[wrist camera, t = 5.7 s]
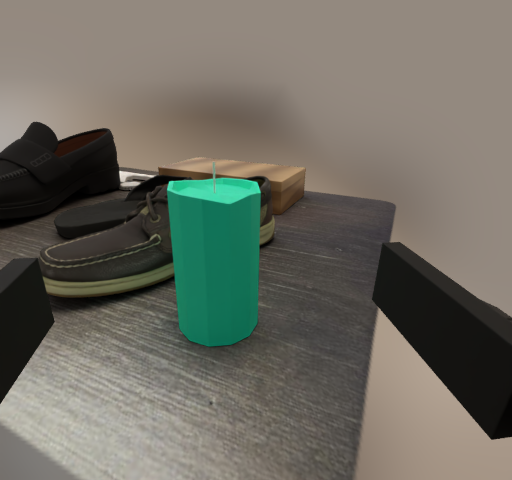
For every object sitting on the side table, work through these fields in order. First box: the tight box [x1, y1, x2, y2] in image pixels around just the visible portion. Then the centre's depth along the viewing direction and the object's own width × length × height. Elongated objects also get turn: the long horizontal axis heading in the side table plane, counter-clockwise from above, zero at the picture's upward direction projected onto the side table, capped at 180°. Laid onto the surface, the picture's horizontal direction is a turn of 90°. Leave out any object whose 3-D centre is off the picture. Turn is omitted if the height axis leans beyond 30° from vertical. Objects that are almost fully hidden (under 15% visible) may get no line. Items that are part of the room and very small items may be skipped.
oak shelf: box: [158, 157, 306, 215], centre depth 57 cm, size 22×12×5 cm, turn 66°
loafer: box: [0, 122, 121, 220], centre depth 49 cm, size 10×28×12 cm, turn 156°
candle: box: [167, 162, 261, 347], centre depth 23 cm, size 6×6×12 cm
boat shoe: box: [38, 176, 275, 298], centre depth 33 cm, size 9×25×8 cm, turn 134°
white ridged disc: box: [119, 182, 141, 190], centre depth 61 cm, size 4×4×1 cm
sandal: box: [54, 175, 194, 239], centre depth 45 cm, size 9×25×6 cm, turn 123°
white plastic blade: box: [119, 171, 154, 183], centre depth 67 cm, size 5×15×1 cm, turn 65°
